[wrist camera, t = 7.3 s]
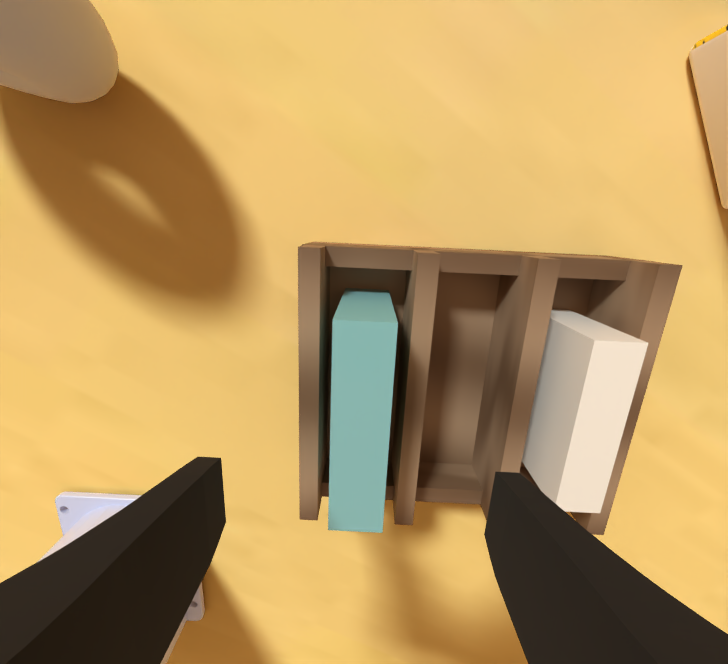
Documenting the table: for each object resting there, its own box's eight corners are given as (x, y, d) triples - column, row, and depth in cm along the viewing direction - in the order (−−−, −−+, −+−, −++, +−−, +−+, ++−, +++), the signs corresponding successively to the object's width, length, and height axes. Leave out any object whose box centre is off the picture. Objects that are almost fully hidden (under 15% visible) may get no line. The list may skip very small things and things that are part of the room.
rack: (556, 469, 20) (606, 535, 16) (312, 457, 20) (296, 519, 16) (606, 255, 17) (686, 265, 13) (313, 241, 17) (294, 246, 13)
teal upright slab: (378, 439, 19) (382, 532, 13) (341, 437, 19) (328, 530, 13) (388, 289, 17) (398, 323, 11) (345, 287, 17) (332, 319, 11)
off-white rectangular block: (541, 440, 19) (600, 513, 14) (507, 438, 19) (553, 510, 14) (569, 309, 17) (648, 342, 12) (530, 307, 17) (594, 340, 12)
